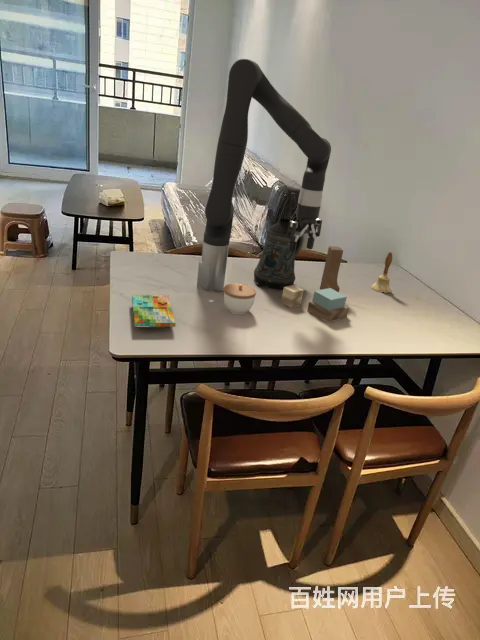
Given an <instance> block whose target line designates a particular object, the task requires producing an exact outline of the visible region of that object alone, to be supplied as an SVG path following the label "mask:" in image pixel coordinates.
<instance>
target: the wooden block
mask: <svg viewBox="0 0 480 640" xmlns="http://www.w3.org/2000/svg"><path fill="white" fill-rule="evenodd" d="M343 253H344V250H343V249H342V248H341V247H340V246H333V245H329V246H328V250H327V255H326V259H325V263H324V268H323V271H322V277H321V281H320V285H319V286H320V287H319V290H322V289H328V288H331V289H333V290H335V291H337V292H339V293H340V286H339V285H338V275H339V272H340V266H341V262H342V257H343Z"/></svg>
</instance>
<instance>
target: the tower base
mask: <svg viewBox="0 0 480 640" xmlns="http://www.w3.org/2000/svg"><path fill="white" fill-rule="evenodd" d="M307 305H308V306H307V311H306V312H309V313H311V314H312V315H314V316H316V317H318V318H319V319H321V320H323V321H325V322H327V323H331V322H334V321H338V320H342V319H343V318H347V317H348V313H349V310H350V307H348V306H346V305H345V306H344V307H343V308H338V309H334V310H329V311H328V310H326V309H325V308H323V307H321V306H319V305H318V304H316V303H314V302H312V300H311V301H308V304H307Z"/></svg>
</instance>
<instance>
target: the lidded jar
mask: <svg viewBox="0 0 480 640" xmlns="http://www.w3.org/2000/svg"><path fill="white" fill-rule="evenodd" d="M256 295H257V291H256V289H255V287H252V286H250V285H248V284H244V283H233V282H232V283H229V284H226V285H224V289H223V303H224V305H225V308H226V309H227V310H228V312H230V313H232V314H235V315H245V314H246V313H247V312H248V311H249V310H250V309H251V308H252V306H253V305H254V302H255V299H256Z"/></svg>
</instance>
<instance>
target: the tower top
mask: <svg viewBox="0 0 480 640" xmlns="http://www.w3.org/2000/svg"><path fill="white" fill-rule="evenodd" d="M347 297H348V296H346V295H345V294H342V293H341V292H340V291H339V292H337V291H335V290H333V289H331V288H328V289H322V290H320V289H317V290H314V292H313V296H312V300H311V301H312V302H314V303H316V304H318V305H319V306H321V307H323V308H325V309H326V310H328V311H329V310H334V309H338V308H343V307H344V306H346V302H347Z"/></svg>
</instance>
